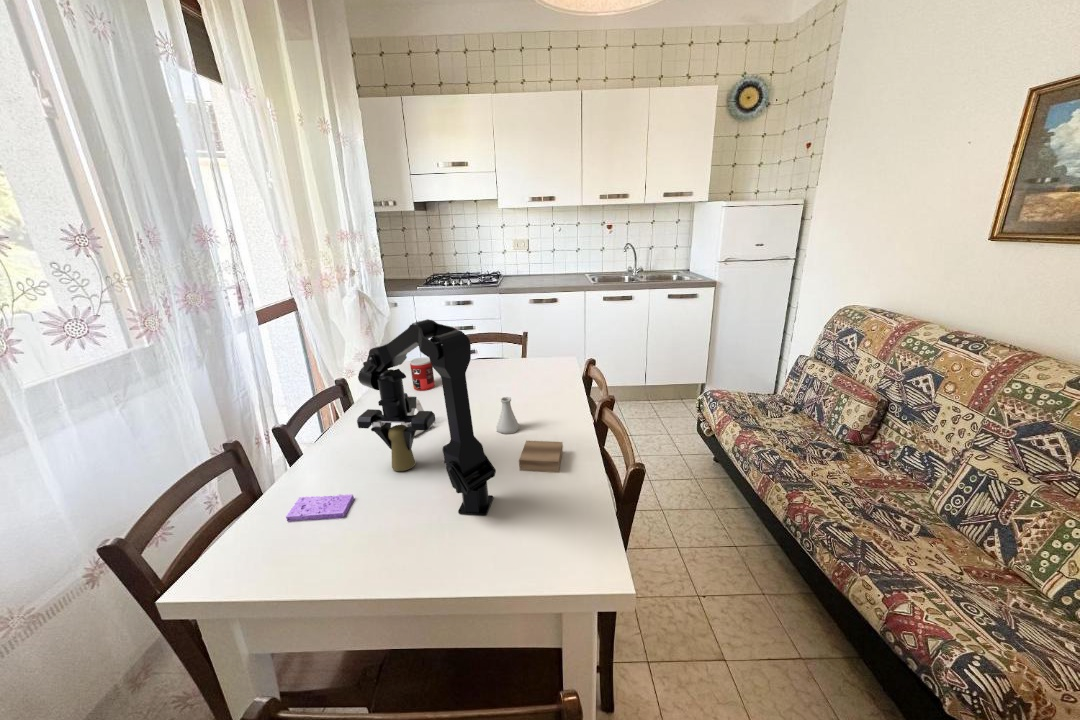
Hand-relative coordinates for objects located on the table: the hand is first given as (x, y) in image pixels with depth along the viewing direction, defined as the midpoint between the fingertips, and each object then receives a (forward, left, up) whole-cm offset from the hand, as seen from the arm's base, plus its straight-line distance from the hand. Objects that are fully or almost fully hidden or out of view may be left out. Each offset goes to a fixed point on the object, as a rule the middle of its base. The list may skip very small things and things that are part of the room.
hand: (401, 449), depth 114 cm
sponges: (-19, +11, -6) cm, 23 cm away
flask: (+23, -23, -6) cm, 33 cm away
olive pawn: (0, 0, -5) cm, 5 cm away
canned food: (+54, +17, -5) cm, 57 cm away
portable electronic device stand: (+20, +6, -6) cm, 22 cm away
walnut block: (+6, -36, -5) cm, 37 cm away
